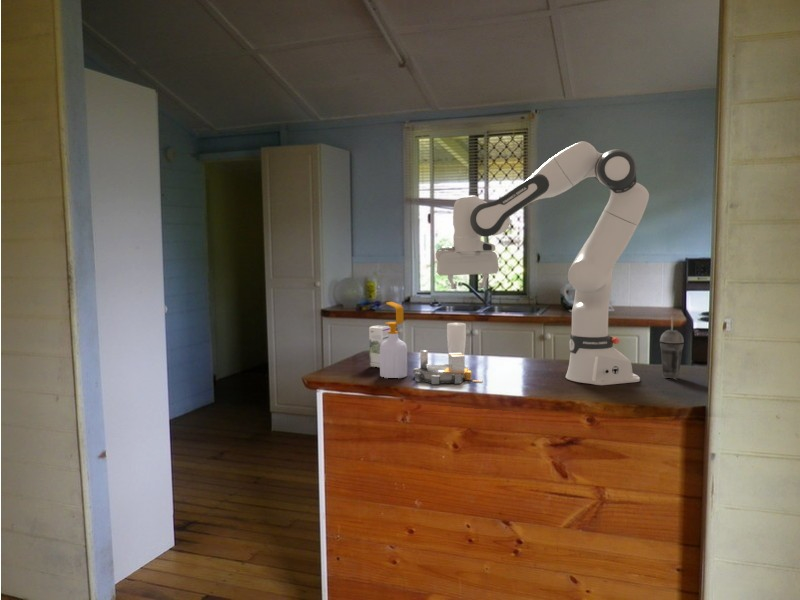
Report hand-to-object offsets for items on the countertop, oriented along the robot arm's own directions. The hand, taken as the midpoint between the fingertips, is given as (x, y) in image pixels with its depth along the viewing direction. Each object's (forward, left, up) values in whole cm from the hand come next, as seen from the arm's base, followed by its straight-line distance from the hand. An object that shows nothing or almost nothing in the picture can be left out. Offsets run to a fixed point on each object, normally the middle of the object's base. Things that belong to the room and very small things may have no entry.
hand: (467, 288), depth 203 cm
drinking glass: (+1, -15, -29) cm, 32 cm away
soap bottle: (+25, -2, -29) cm, 38 cm away
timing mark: (0, +11, -29) cm, 31 cm away
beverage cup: (-62, +16, -29) cm, 71 cm away
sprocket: (+10, +5, -29) cm, 31 cm away
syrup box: (+28, -18, -29) cm, 44 cm away
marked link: (+5, +7, -26) cm, 27 cm away
